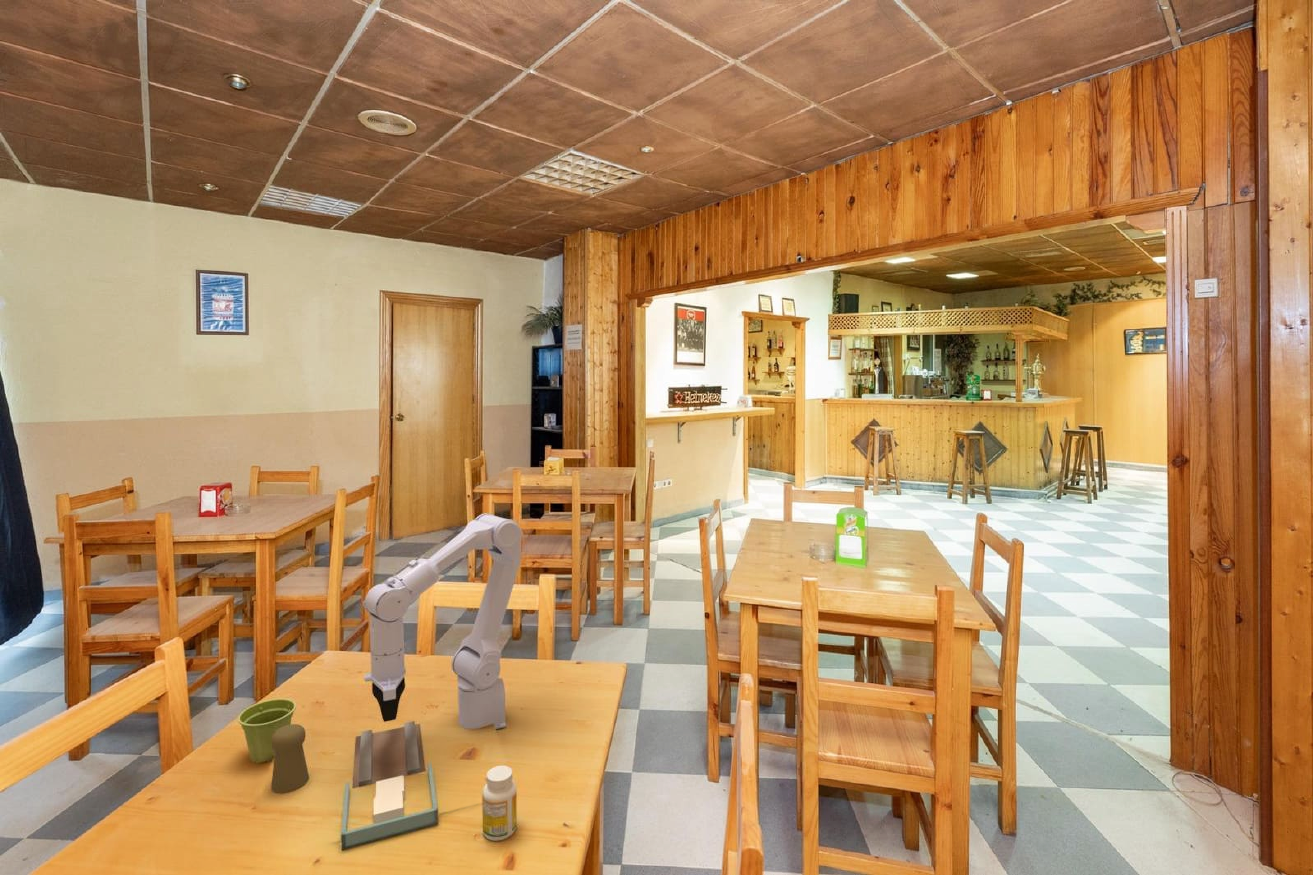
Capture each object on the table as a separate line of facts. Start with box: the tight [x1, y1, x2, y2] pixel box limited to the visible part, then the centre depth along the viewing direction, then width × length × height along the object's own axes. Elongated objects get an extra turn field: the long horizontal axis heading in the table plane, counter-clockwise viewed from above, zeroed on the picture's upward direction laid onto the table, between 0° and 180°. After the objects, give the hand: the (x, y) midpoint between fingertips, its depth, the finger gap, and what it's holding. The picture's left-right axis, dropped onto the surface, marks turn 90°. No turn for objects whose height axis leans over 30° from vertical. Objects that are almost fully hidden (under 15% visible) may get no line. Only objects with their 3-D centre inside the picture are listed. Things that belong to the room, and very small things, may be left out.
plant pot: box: [237, 698, 297, 764], centre depth 117 cm, size 9×9×9 cm
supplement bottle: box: [481, 765, 518, 842], centre depth 98 cm, size 5×5×10 cm
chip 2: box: [372, 791, 404, 824], centre depth 101 cm, size 4×4×2 cm
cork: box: [270, 723, 310, 795], centre depth 107 cm, size 6×6×11 cm
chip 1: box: [375, 775, 406, 801], centre depth 105 cm, size 4×4×2 cm
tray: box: [340, 762, 439, 851], centre depth 102 cm, size 14×13×2 cm
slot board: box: [351, 720, 426, 789], centre depth 117 cm, size 12×17×2 cm
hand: (389, 719), depth 115 cm, fingers closed
